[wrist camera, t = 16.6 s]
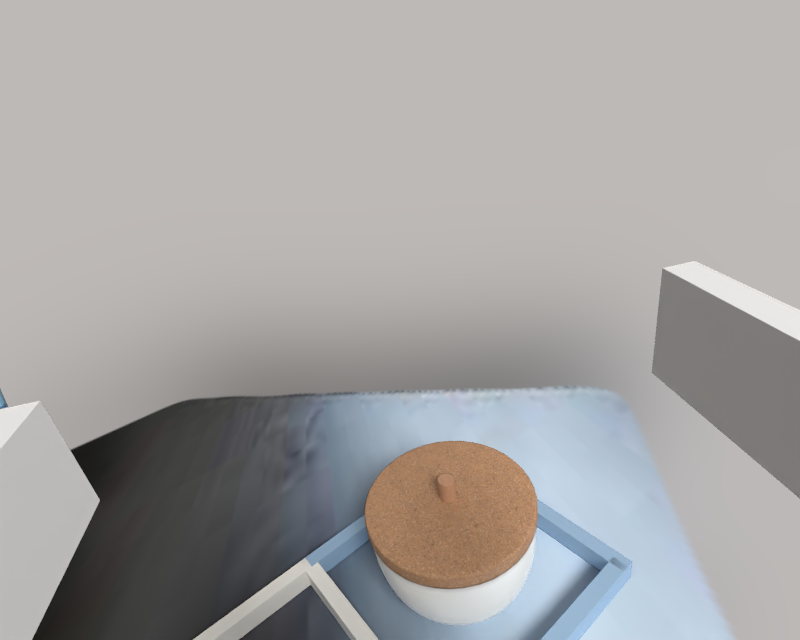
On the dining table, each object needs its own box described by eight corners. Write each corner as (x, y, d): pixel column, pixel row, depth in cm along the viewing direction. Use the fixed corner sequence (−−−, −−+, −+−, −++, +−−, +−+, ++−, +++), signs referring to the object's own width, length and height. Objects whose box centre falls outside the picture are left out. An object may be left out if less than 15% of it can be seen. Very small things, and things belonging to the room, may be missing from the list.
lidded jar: (420, 694, 28) (395, 592, 24) (364, 549, 38) (339, 456, 33) (575, 611, 31) (577, 506, 27) (488, 495, 40) (479, 403, 36)
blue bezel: (309, 571, 37) (305, 557, 36) (458, 459, 44) (457, 446, 44) (465, 778, 25) (462, 764, 24) (630, 576, 33) (632, 561, 32)
